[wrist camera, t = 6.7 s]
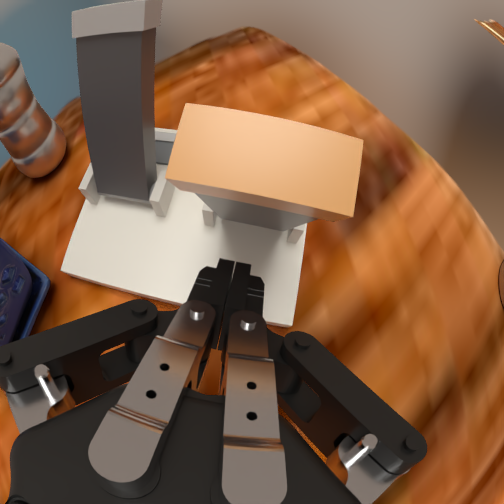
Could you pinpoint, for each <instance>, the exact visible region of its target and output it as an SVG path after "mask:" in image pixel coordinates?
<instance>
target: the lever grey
mask: <svg viewBox="0 0 504 504" xmlns="http://www.w3.org/2000/svg"><path fill="white" fill-rule="evenodd" d="M161 10H162V0H140V1H130V2H121V3H114V4H107V5H101V6H95V7H90V8H86V9H82V10H77V11H73V12H72V38H76V44H77V63H78V75H79V86H80V96H81V104H82V112H83V119H84V125H85V132H86V138H87V143H88V149H89V154H90V159H91V164H92V169H93V174H94V179H95V183H96V187H97V192H98V194H99V195H101V196H107V197H113V198H119V199H125V200H131V201H136V202H142V203H148V204H151V203H150V201H149V199H150V197H151V194H152V191H153V189H154V186H155V183H156V181H157V168H156V149H155V121H154V65H155V36H156V27H158V26H160V23H161Z"/></svg>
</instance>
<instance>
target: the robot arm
mask: <svg viewBox="0 0 504 504" xmlns="http://www.w3.org/2000/svg"><path fill="white" fill-rule="evenodd" d="M234 264H235V261H232V260H227V259H222V258H220V259H219V261H218V264H217V267H216V268H214V267H209V266H206V267H204V268H203V269H201V270H200V271H199V274H198V276H197V278H196V280H195V283H194V285H193V287H192V290H191V292H190V294H189V297H188V299H187V301H186V302H185V303H183V304H182V305H181V306H180V308H179V309H177V310H174V311H158V310H157V308H156V306H155V305H154V304H153V303H151V302H149V301H147V300H142V299H136V300H131V301H128V302H125V303H123V304H120V305H117V306H114V307H111V308H108V309H106V310H103V311H100V312H97V313H94V314H91V315H89V316H86V317H83V318H80V319H77V320H74V321H72V322H69V323H66V324H63V325H60V326H57V327H54V328H52V329H49V330H46V331H43V332H40V333H37V334H34V335H32V336H29V337H26V338H23V339H20V340H17V341H14V342H11V343H8V344H6V345H3V346H0V387H1V389H2V390H3V392H4V393H5V395H6V397H7V399H8V402H9V405H10V408H11V411H12V413H13V416H14V419H15V422H16V424H17V427H18V429H19V432H20V435H19V436H18V437H17V439H16V440H15V441H14V444H13V446H12V449H11V453H10V468H11V487H10V494H9V497H8V500H7V502H6V503H5V504H372V503H373V502H374V501H375V500H376V499H377V498H378V497H379V496H380V495H381V494H382V493H383V492H384V491H385V490H386V489H387V488H388V487H389V486H390V485H391V483H392V482H393V481H395V480H396V479H398V478H399V477H401V476H402V475H404V474H405V473H406V472H408V471H409V470H410V469H411V468H412V467H413V466H414V465H416V464H417V463H418V462H420V461H421V460H422V459H423V458H424V457H425V455H426V453H427V443H426V441H425V439H424V437H423V436H422V435H421V434H420V433H419V432H418V431H417V430H416V429H415V428H413V427H412V426H411V425H410V424H409V423H408V422H407V421H406V420H404V419H403V418H402V417H401V416H400V415H399V414H398V413H397V412H395V411H394V410H393V409H392V408H391V407H390V406H389V405H388V404H386V403H385V402H384V401H383V400H382V399H381V398H380V397H379V396H378V395H376V394H375V393H374V392H373V391H372V390H371V389H370V388H369V387H368V386H366V385H365V384H364V383H363V382H362V381H361V380H360V379H359V378H358V377H357V376H355V375H354V374H353V373H352V372H351V371H350V370H349V369H348V368H347V367H346V366H345V365H343V364H342V363H341V362H340V361H339V360H338V359H337V358H336V357H335V356H334V355H333V354H331V353H330V352H329V351H328V350H327V349H326V348H325V347H324V346H323V345H322V344H321V343H320V342H319V341H317V340H316V339H315V338H314V337H313V336H311V335H310V334H307V333H305V332H300V331H294V332H290V333H288V334H287V335H286V336H285V337H282V336H280V335H278V334H275V333H273V332H272V331H270V330H269V329H268V328H267V326H266V321H265V320H264V318H263V303H264V286H265V284H264V282H263V280H262V279H261V277H258V276H253V275H250V271H251V264H246V263H241V262H236V265H235V269H234ZM233 270H234V273H233ZM232 275H233V277H232ZM499 288H500V295H501V299H502V303H503V306H504V261H503V262H502V265H501V268H500V274H499ZM222 322H223V323H222ZM221 327H222V329H221ZM220 331H221V334H220ZM219 335H220V340H219ZM218 340H219V346H218V350H221V351H222V354H221V362H222V363H221V371H220V382H219V393H218V395H204V394H201V393H199V392H198V391H199V388H200V385H201V382H202V380H203V377H204V374H205V371H206V368H207V366H208V362H209V355H210V351H211V348H212V349H216V348H217V344H218ZM123 343H125V346H122V347H120V348H118V349H115V350H113V351H110V352H108V353H106V354H103V355H101V354H102V353H103V352H104V351H106V350H108V349H111V348H113V347H115V346H118V345H120V344H123ZM100 355H101V356H100ZM129 381H130V382H129ZM304 381H305V382H306V383H307V384H308V385H309V386H310V387H311V388H312V389H313V390H314V391H315V392H316V393H315V392H314V391H313V390H312V389H311V388H310V387H309V386H308V385H307V384H306V383H305V382H304ZM126 382H129V383H128V384H124V383H126ZM122 384H124V385H122ZM120 385H121V386H120ZM100 394H101V395H100ZM98 395H99V396H98ZM96 396H97V397H96ZM94 397H95V398H94ZM92 398H93V399H92ZM89 399H91V400H89ZM87 400H89V401H87ZM85 401H87V402H85ZM82 402H85V403H83V404H81V405H79V406H77V407H75V405H78V404H80V403H82ZM277 403H278V405H279V406H280V407H281V408H282V409H283V410H284V412H285V413H286V414H287V415H288V416H289V417H290V418H291V419H292V421H293V422H294V423H295V424H296V425H297V426H298V427H299V428H300V430H301V431H302V432H303V433H304V434H305V435H306V436H307V437H308V438H309V439H310V440H311V442H312V443H313V444H314V445H315V446H316V447H317V448H318V449H319V450H320V451H321V452H322V453H323V454H324V455H325V456H326V457H327V460H326V464H325V463H324V462H323V461H322V460H321V458H320V457H319V456H318V455H317V454H316V453H315V452H314V450H313V449H312V448H311V447H310V446H309V445H308V443H307V442H306V441H305V440H304V439H303V438H302V436H301V435H300V434H299V433H298V432H297V430H296V429H295V428H294V427H293V426H292V425H291V424H290V423H289V422H288V421H287V420H286V419H285V418H284V417H282V416H281V415H279V414H278V407H277Z"/></svg>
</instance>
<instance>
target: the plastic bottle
mask: <svg viewBox="0 0 504 504" xmlns="http://www.w3.org/2000/svg"><path fill="white" fill-rule="evenodd" d="M0 141H1V142H2V144H3V145H4V147H5V148H6V150H7V151H8V152H9V154H10V155H11V158H12V160H13V162H14V164H15V165H16V167H17V168H18V170H19V171H20V172H22V173H23V174H25V175H26V176H28V177H30V178H39V177H43V176H46V175H48V174H49V173H51V172H52V171H53V170H54V169H55V168H56V167H57V166H58V165H59V164H60V162H61V161H62V159H63V157H64V155H65V150H66V138H65V136H64V133H63V131H62V129H61V128H60V127H59V125H58V124H57V123H56V122H55V121H54V120H52V119H51V118H50V117H49V116H48V114H47V113H46V112H45V111H44V109H43V108H42V107H41V106H40V104H39V103H38V102H37V100H36V98H35V96H34V94H33V92H32V90H31V88H30V86H29V84H28V82H27V79H26V76H25V73H24V70H23V67H22V64H21V61H20V58H19V55H18V53H17V51H16V50H15V49H14V48H12V47H11V46H8V45H6V44H3V43H0Z"/></svg>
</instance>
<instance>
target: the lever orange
mask: <svg viewBox="0 0 504 504" xmlns="http://www.w3.org/2000/svg"><path fill="white" fill-rule="evenodd" d="M362 148H363V140H361V139H358V138H355V137H351V136H348V135H345V134H341V133H338V132H334V131H331V130H327V129H323V128H319V127H316V126H312V125H308V124H303V123H299V122H295V121H291V120H286V119H282V118H277V117H272V116H267V115H262V114H257V113H251V112H246V111H240V110H234V109H227V108H221V107H214V106H206V105H198V104H189V103H186V104H185V107H184V111H183V114H182V117H181V120H180V124H179V127H178V130H177V134H176V137H175V141H174V145H173V148H172V152H171V156H170V159H169V163H168V167H167V171H166V175H165V179H166V180H168V181H169V182H170V183H171V184H173V185H174V186H175V187H176V188H178V189H179V190H181V191H186V192H192V193H195V194H196V195H197V196H198V197H199V198H200V199H201V200H202V201H203V202H204V203H205V204H206V205H207V206H208V207H209V208H210V209H211V210H213V211H214V212H215V213H216V214H217V215H218V216H219V217H220V218H221V219H225V220H230V221H235V222H240V223H245V224H250V225H254V226H259V227H264V228H269V229H274V230H278V231H286V230H289V229H292V228H294V227H297V226H300V225H303V224H305V223H308V222H311V221H314V220H317V219H323V220H327V221H331V222H335V221H339V220H343V219H347V218H351V217H353V213H354V207H355V200H356V194H357V187H358V180H359V173H360V165H361V157H362Z"/></svg>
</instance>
